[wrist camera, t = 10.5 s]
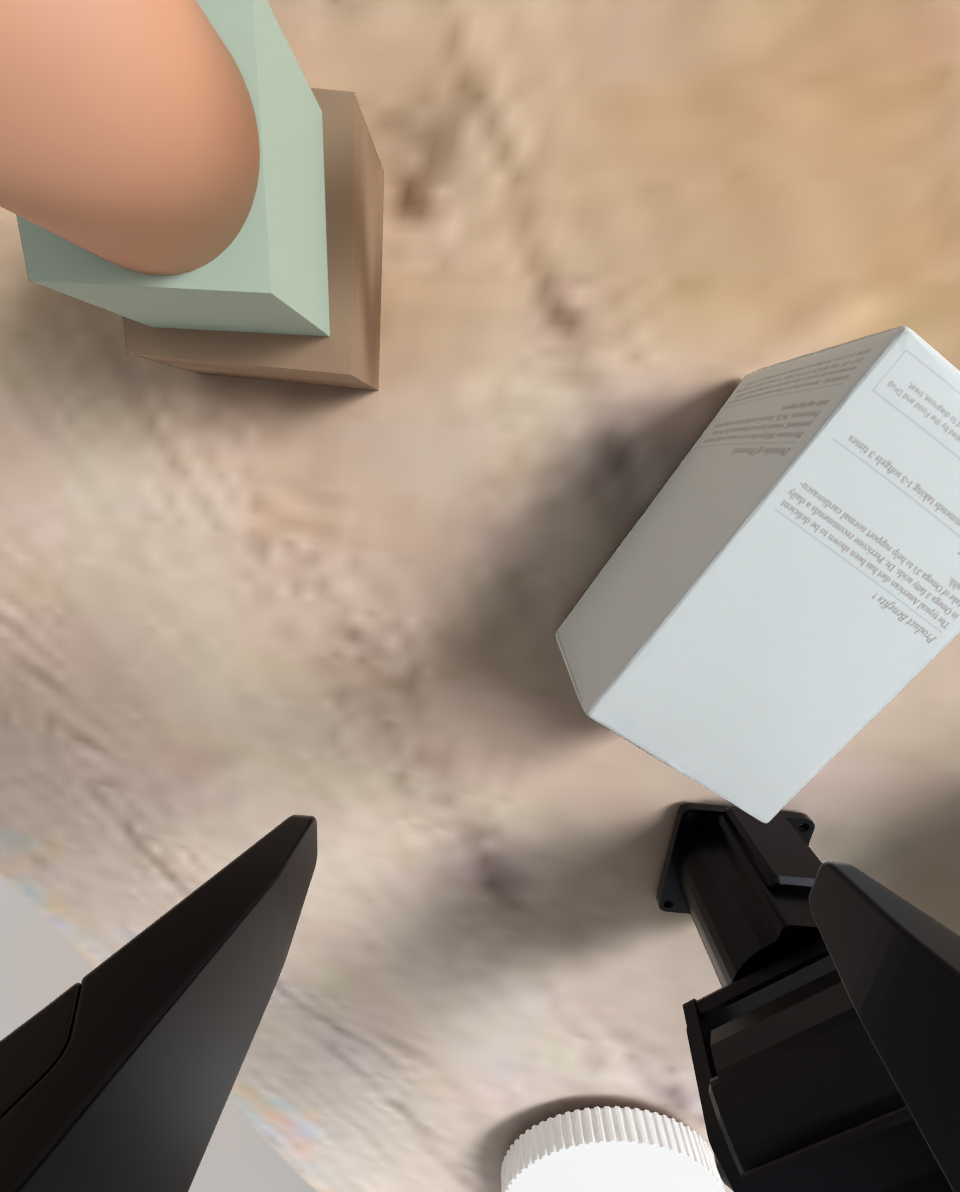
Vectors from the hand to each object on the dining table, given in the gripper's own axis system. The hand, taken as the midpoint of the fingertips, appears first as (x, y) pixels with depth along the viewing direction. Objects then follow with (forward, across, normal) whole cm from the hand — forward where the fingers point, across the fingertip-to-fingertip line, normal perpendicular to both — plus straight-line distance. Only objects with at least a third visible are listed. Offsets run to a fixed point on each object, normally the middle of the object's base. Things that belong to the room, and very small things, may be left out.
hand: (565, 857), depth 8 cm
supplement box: (+9, -11, -9) cm, 17 cm away
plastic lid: (+14, -10, +38) cm, 41 cm away
